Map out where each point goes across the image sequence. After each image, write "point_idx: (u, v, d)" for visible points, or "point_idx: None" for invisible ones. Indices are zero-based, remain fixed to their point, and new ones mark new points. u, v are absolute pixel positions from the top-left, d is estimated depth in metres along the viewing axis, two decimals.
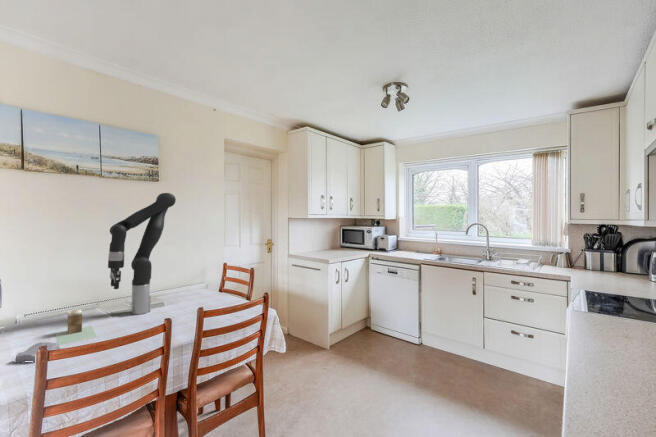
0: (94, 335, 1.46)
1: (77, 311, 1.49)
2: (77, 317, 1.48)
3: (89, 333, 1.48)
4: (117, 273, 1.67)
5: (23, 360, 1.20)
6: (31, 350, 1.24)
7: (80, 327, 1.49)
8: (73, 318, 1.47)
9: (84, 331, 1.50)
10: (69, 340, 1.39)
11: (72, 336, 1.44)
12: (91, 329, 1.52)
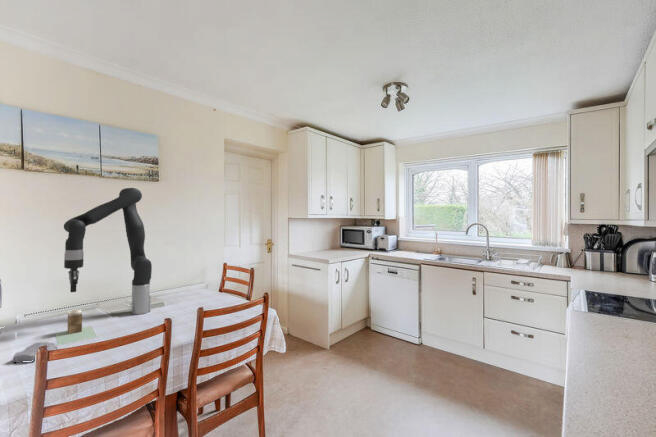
0: (94, 335, 1.46)
1: (77, 311, 1.49)
2: (77, 317, 1.48)
3: (89, 333, 1.48)
4: (74, 278, 1.50)
5: (21, 360, 1.20)
6: (29, 350, 1.24)
7: (80, 327, 1.49)
8: (73, 318, 1.47)
9: (84, 331, 1.50)
10: (69, 340, 1.39)
11: (72, 336, 1.44)
12: (91, 329, 1.52)
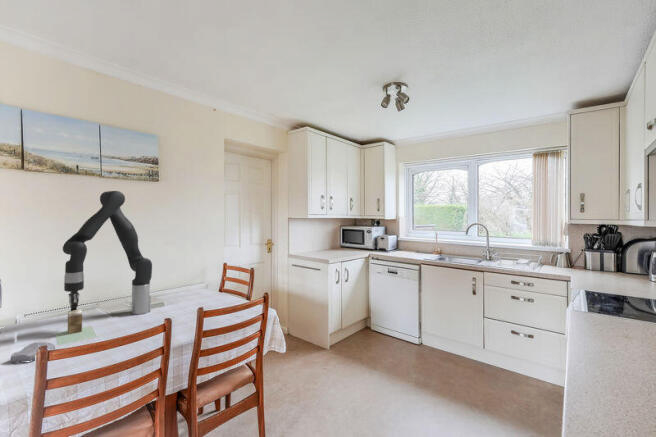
0: (94, 335, 1.46)
1: (77, 311, 1.49)
2: (77, 317, 1.48)
3: (89, 333, 1.48)
4: (74, 301, 1.47)
5: (18, 360, 1.20)
6: (26, 350, 1.24)
7: (80, 327, 1.49)
8: (73, 318, 1.46)
9: (84, 331, 1.50)
10: (69, 340, 1.39)
11: (72, 336, 1.44)
12: (91, 329, 1.52)
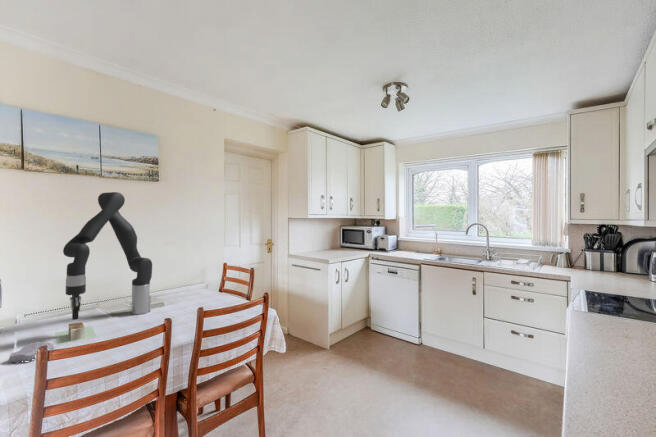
0: (94, 335, 1.46)
1: (80, 334, 1.41)
2: None
3: (89, 333, 1.48)
4: (75, 305, 1.42)
5: (17, 360, 1.20)
6: (25, 350, 1.24)
7: None
8: None
9: None
10: (69, 340, 1.39)
11: None
12: (91, 329, 1.52)
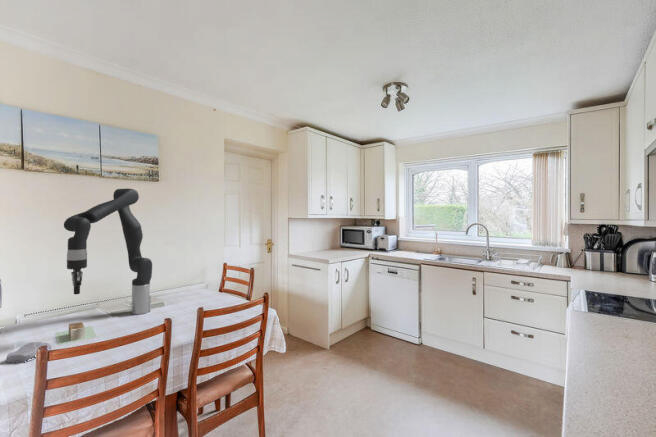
0: (94, 335, 1.46)
1: (80, 334, 1.41)
2: None
3: (89, 333, 1.48)
4: (77, 279, 1.41)
5: (14, 360, 1.20)
6: (22, 350, 1.24)
7: None
8: None
9: None
10: (69, 340, 1.39)
11: None
12: (91, 329, 1.52)
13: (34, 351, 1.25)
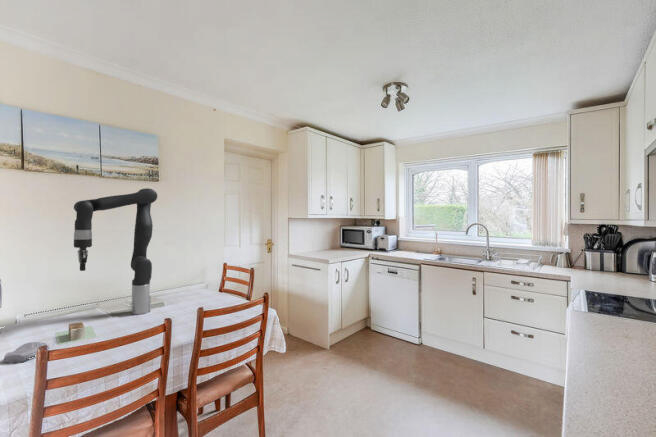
0: (94, 335, 1.46)
1: (80, 334, 1.41)
2: None
3: (89, 333, 1.48)
4: (83, 257, 1.55)
5: (12, 360, 1.20)
6: (20, 350, 1.24)
7: None
8: None
9: None
10: (69, 340, 1.39)
11: None
12: (91, 329, 1.52)
13: (32, 351, 1.25)
